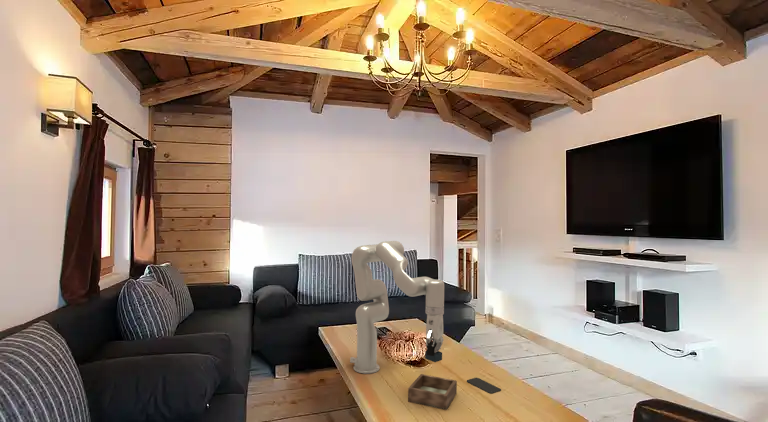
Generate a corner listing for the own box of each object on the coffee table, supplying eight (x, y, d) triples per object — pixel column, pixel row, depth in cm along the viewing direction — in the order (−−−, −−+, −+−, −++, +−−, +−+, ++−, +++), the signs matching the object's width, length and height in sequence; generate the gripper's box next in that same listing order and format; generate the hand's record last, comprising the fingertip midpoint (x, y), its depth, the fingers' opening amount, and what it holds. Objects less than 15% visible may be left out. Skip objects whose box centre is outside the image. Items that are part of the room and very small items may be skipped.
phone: (490, 393, 176) (465, 380, 189) (490, 395, 176) (465, 382, 189) (502, 389, 180) (476, 377, 193) (502, 391, 180) (476, 378, 193)
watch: (445, 358, 173) (445, 332, 173) (432, 363, 167) (432, 336, 167) (434, 355, 177) (435, 329, 177) (421, 359, 171) (422, 332, 171)
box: (408, 401, 168) (408, 388, 168) (420, 386, 183) (420, 373, 183) (446, 410, 162) (446, 396, 162) (456, 393, 176) (456, 380, 176)
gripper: (437, 316, 162) (436, 360, 163) (448, 306, 178) (448, 347, 178) (419, 313, 165) (418, 357, 166) (432, 304, 181) (431, 344, 181)
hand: (433, 351), depth 172 cm, fingers closed on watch, 8 cm apart
